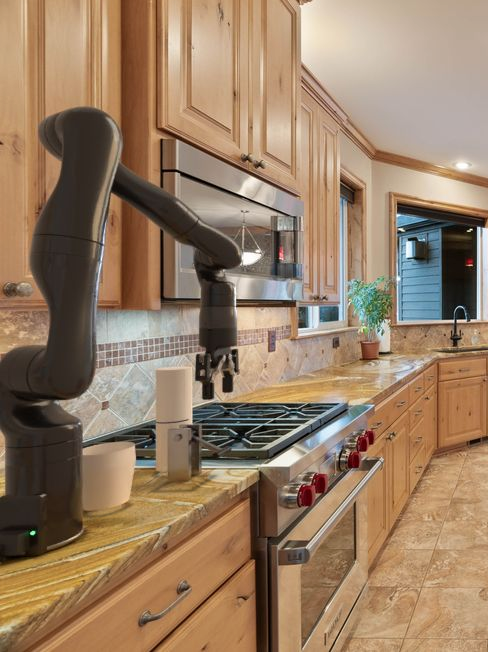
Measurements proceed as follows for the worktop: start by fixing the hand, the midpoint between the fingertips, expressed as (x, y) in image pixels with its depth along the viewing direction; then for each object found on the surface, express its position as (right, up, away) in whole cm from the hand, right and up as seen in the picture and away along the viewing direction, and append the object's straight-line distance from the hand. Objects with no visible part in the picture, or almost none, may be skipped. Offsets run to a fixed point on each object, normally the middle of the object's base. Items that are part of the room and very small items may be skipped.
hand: (218, 395), depth 107 cm
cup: (-12, -19, -16) cm, 28 cm away
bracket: (-6, -19, -3) cm, 20 cm away
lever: (-3, -11, -3) cm, 12 cm away
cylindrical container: (-14, -19, +5) cm, 24 cm away
